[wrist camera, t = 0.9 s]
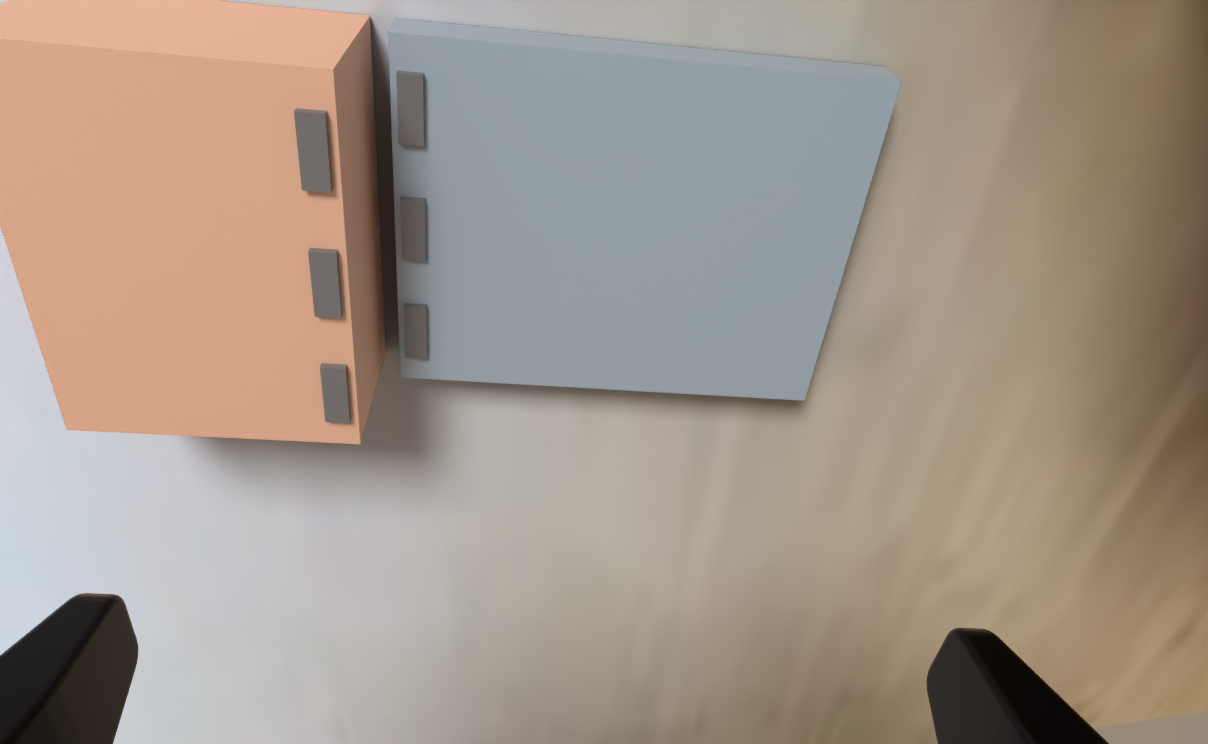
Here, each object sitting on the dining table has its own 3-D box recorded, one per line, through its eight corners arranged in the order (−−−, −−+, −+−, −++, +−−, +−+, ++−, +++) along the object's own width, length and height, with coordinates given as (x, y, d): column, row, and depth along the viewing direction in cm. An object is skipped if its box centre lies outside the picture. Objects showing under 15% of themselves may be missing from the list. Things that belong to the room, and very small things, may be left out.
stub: (370, 15, 17) (330, 71, 14) (385, 352, 21) (359, 449, 19) (44, -17, 16) (-69, 35, 13) (132, 337, 21) (63, 435, 18)
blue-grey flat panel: (886, 66, 18) (904, 83, 17) (795, 377, 23) (806, 404, 22) (395, 18, 17) (386, 33, 16) (405, 353, 22) (399, 381, 21)
